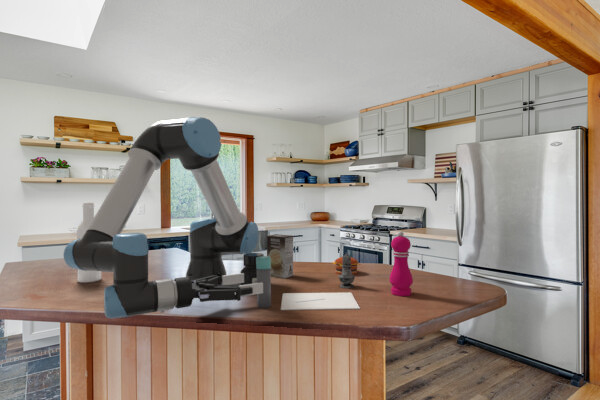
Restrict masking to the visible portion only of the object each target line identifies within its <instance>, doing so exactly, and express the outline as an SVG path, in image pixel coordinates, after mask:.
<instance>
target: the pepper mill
mask: <svg viewBox="0 0 600 400" xmlns="http://www.w3.org/2000/svg"><path fill="white" fill-rule="evenodd" d="M404 235H405V234H404V232H403V231H398V232H397V236H395V237H393V239H392V240H391V244H390V245H391V248H392V250H393V251H392V256H393V258H394V259H393V260H394V261H393V266H392V269H391V272H390V274H389V283H390V284H391V287H390V294H391V295H394V296H398V297H409V296H411V295H412V288H411V286H412V285H413V283H414V282H413V281H414V279H413V275H412V273H411V270H410V267H409V262H408V261H409V260H408V259H409V256H410V255H409V253H410V248H411V245H412V244H411V240H410V239H409V238H408V237H406V236H404Z"/></svg>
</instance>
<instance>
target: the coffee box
mask: <svg viewBox="0 0 600 400" xmlns="http://www.w3.org/2000/svg"><path fill="white" fill-rule="evenodd" d="M266 256H268V257H271V277H274V278H281V279H287V278H290V277H293V276H294V235H289V234H277V233H276V234H275V233H274V234H270V235H266Z"/></svg>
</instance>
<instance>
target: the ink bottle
mask: <svg viewBox="0 0 600 400" xmlns="http://www.w3.org/2000/svg"><path fill="white" fill-rule="evenodd" d="M261 256H265V255H264V253H262V252H261V253H260V252H251V253H247V254H243V268H242V269H241V270H240V273H244V283H240V285H247V284H254V283H257V269H256V257H261Z"/></svg>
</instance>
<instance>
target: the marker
mask: <svg viewBox="0 0 600 400" xmlns="http://www.w3.org/2000/svg"><path fill="white" fill-rule="evenodd" d="M256 269H257V283H261V282H262V283H263V293H261V294H256V307H257V308H259V309H268V308H270V307H272V293H271V292H272V284H271V283H272V281H271V279H272V276H271V257H268V256H267V255H264V256H261V257H256Z"/></svg>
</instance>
